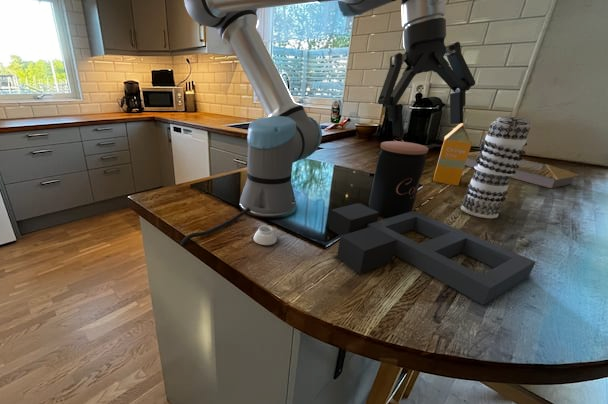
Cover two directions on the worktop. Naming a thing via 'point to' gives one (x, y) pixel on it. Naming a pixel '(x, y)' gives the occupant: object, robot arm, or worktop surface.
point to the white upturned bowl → (265, 236)
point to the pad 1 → (351, 218)
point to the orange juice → (453, 156)
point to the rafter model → (534, 172)
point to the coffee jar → (397, 178)
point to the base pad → (450, 243)
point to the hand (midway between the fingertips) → (427, 129)
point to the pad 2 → (366, 249)
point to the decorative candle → (496, 166)
